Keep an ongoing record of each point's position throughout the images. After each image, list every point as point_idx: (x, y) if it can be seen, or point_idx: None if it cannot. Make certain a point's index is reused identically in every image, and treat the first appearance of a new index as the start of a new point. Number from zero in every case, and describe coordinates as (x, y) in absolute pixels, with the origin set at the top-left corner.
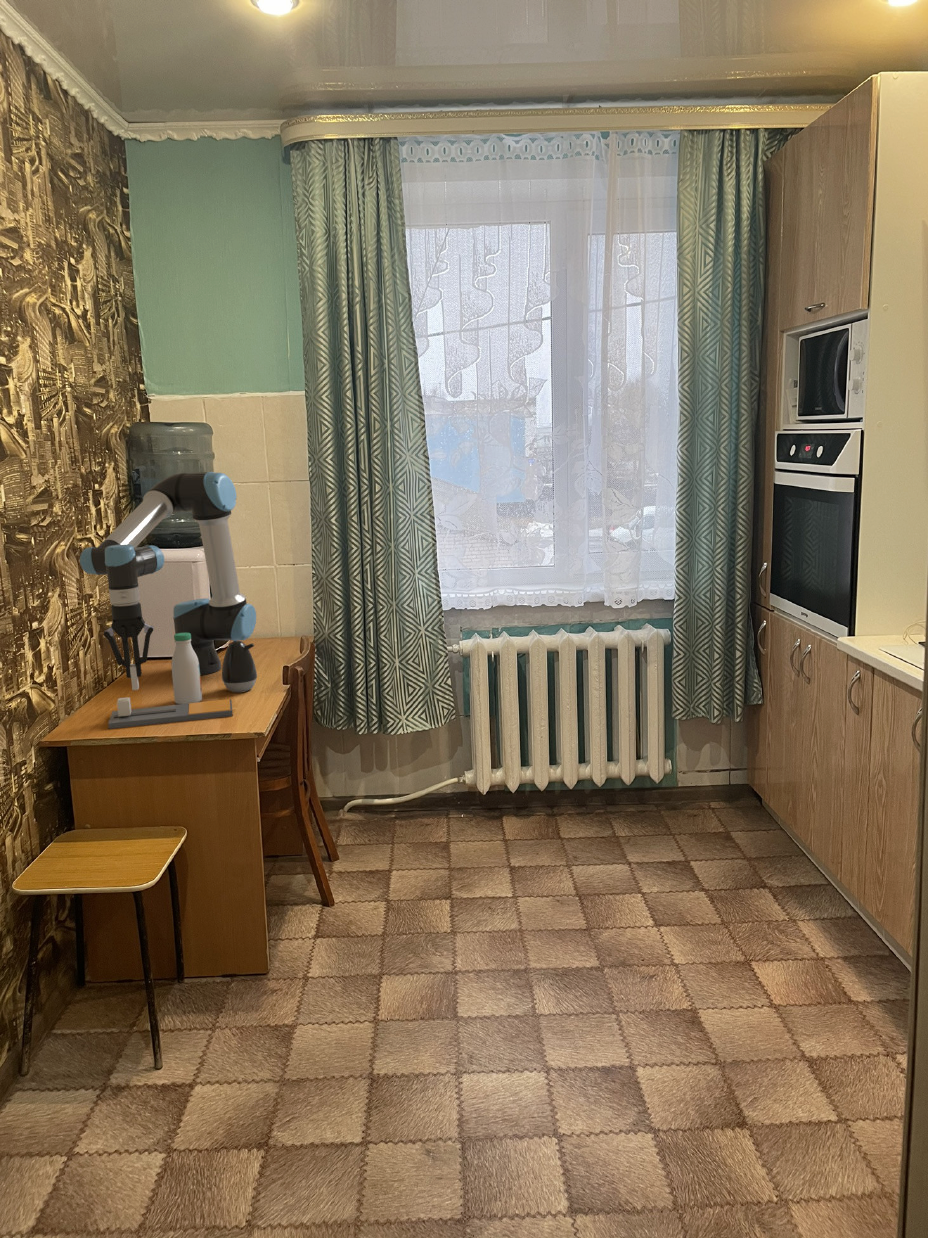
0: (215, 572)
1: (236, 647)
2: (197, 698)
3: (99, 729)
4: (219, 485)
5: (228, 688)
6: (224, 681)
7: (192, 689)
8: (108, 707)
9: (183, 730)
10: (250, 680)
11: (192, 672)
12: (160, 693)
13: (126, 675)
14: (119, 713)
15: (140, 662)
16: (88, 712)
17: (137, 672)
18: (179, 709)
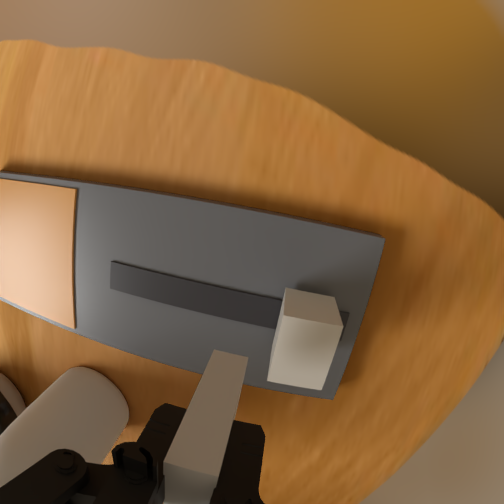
0: None
1: None
2: (64, 373)
3: (409, 249)
4: None
5: (16, 395)
6: (11, 408)
7: (54, 388)
8: (319, 469)
9: (123, 66)
10: None
11: (18, 420)
12: None
13: (264, 440)
14: (330, 300)
15: (110, 477)
16: (380, 452)
17: (174, 430)
18: (100, 280)
